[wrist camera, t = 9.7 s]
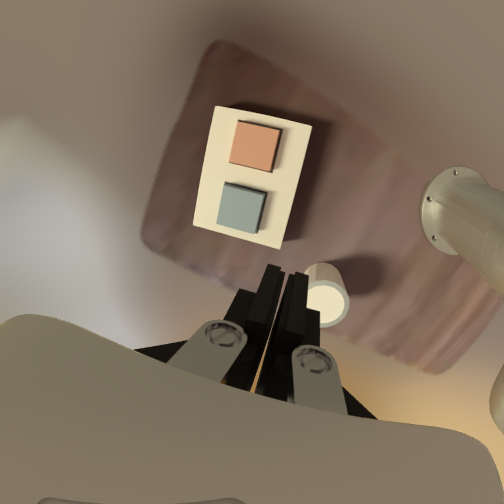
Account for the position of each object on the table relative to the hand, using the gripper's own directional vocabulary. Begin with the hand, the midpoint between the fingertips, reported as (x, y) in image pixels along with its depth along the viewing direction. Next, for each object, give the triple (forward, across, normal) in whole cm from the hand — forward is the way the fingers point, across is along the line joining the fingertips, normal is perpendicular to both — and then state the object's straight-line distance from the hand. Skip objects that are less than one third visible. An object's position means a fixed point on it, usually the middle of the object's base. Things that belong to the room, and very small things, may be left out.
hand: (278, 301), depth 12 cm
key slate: (+27, +7, +4) cm, 28 cm away
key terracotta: (+27, +7, -4) cm, 28 cm away
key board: (+29, +7, 0) cm, 30 cm away
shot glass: (+29, -6, +12) cm, 32 cm away
